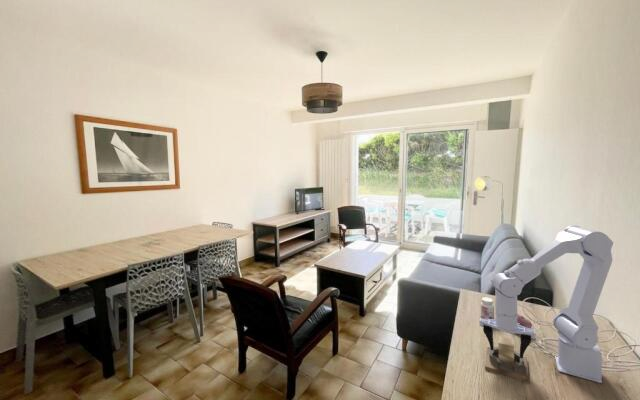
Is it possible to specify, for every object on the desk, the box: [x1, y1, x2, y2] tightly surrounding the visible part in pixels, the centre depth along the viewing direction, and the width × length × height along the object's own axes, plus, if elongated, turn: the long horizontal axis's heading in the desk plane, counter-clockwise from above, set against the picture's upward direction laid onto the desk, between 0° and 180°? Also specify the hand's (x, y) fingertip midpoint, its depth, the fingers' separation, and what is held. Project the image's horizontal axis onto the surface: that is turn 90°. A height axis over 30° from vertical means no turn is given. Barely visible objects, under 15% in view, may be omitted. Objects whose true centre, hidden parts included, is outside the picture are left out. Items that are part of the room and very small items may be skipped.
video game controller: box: [517, 313, 533, 329], centre depth 104 cm, size 10×5×7 cm, turn 36°
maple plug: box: [498, 335, 515, 364], centre depth 86 cm, size 4×4×7 cm
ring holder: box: [484, 346, 530, 383], centre depth 86 cm, size 11×11×3 cm
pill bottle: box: [480, 296, 495, 320], centre depth 113 cm, size 5×5×8 cm
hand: (506, 352), depth 86 cm, fingers open, 7 cm apart
